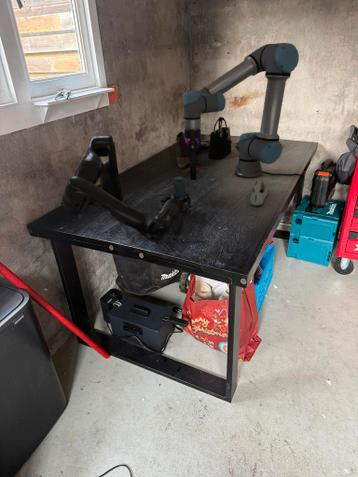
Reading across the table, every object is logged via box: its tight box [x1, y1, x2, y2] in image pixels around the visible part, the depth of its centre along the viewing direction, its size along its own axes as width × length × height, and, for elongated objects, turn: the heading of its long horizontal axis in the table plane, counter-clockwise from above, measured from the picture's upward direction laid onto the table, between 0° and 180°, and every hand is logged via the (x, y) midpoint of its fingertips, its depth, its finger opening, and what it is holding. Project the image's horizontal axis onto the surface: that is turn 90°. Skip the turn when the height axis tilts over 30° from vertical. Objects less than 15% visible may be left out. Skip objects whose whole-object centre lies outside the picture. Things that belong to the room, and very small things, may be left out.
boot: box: [175, 131, 190, 169], centre depth 209 cm, size 9×24×20 cm, turn 168°
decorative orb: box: [184, 137, 202, 152], centre depth 230 cm, size 15×15×15 cm
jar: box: [173, 176, 187, 213], centre depth 149 cm, size 5×5×15 cm
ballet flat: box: [249, 179, 269, 207], centre depth 158 cm, size 8×24×8 cm, turn 163°
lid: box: [187, 166, 200, 175], centre depth 159 cm, size 5×5×2 cm
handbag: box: [207, 116, 232, 160], centre depth 218 cm, size 21×9×25 cm, turn 148°
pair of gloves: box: [199, 134, 233, 149], centre depth 252 cm, size 30×26×5 cm
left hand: (181, 195), depth 152 cm, fingers closed on jar, 4 cm apart
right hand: (193, 177), depth 160 cm, fingers closed on lid, 5 cm apart
